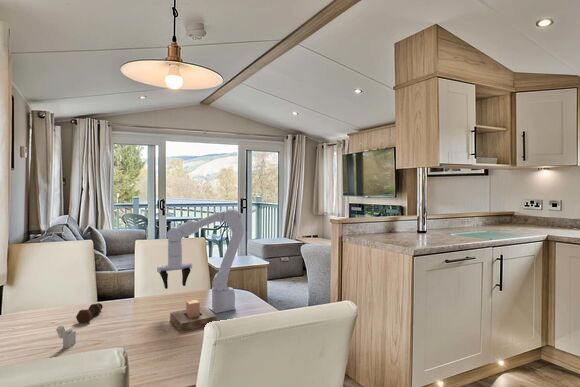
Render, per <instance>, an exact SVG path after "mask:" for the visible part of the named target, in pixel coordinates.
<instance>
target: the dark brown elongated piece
mask: <svg viewBox="0 0 580 387" xmlns="http://www.w3.org/2000/svg"><path fill="white" fill-rule="evenodd" d="M102 310H103V304H102V303H100V302H97V303H92V304H90V305H89V307H88V309H80V310H79V311H78V312H77V314H76V316H75V319H76V321H77V322H78V324H89V323H90V321H91V319H92V317H93V316H98V315H99V314H100V313H101V311H102Z"/></svg>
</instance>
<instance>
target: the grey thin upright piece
mask: <svg viewBox="0 0 580 387" xmlns="http://www.w3.org/2000/svg"><path fill="white" fill-rule="evenodd" d="M55 330H56V333H57V335H58V337H59V339H62V348H63V349H68V348H70V347H72V346H74V345H75V344H76V343H77V341H76V340H77V338H76V336H77V334H76V332H77V330H73V329H72V328H69V329H67V330H65V327H64V326H63V325H59V326H58V327H56V329H55Z"/></svg>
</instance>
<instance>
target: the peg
mask: <svg viewBox="0 0 580 387" xmlns="http://www.w3.org/2000/svg"><path fill="white" fill-rule="evenodd" d="M185 304H186V305H185V306H186V307H185V310H186V317H188V318H191V317H196V316H200V307H201V305H200V301H199V300H197V299H193V300H186V301H185Z"/></svg>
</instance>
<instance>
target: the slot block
mask: <svg viewBox="0 0 580 387" xmlns="http://www.w3.org/2000/svg"><path fill="white" fill-rule="evenodd" d="M217 319H218V316H217V315H216V313H214V312H213V311H212V310H210V309H209V308H207V307H205V306H200V316H196V317H191V318H188V317H186V309H182V310H179V311H173V312H172V311H171V312H169V320H170V322H171V323H172V324H173V325H174V326H175V327H176V328H177V330H179V331H180V332H185V331H189V330H194V329H197V328H198V329H199V328H204V327H206V326H205V325H206V324H207V323H209V322H212V321H217V322H218V320H217Z"/></svg>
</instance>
